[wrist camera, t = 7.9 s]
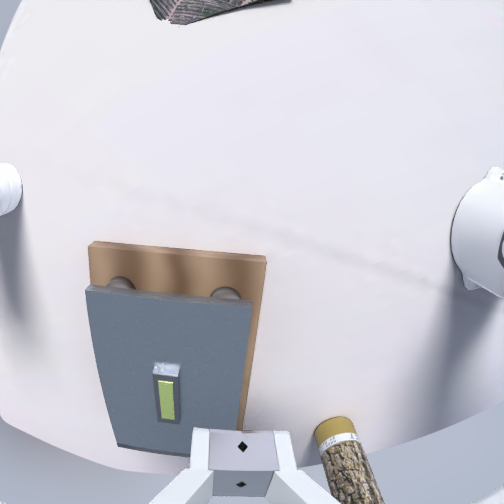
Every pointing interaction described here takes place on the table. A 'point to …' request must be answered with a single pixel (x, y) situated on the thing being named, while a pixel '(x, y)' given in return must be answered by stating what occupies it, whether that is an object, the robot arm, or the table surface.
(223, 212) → the table surface
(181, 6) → the terrain model
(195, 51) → the table surface
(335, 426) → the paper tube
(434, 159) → the table surface
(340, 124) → the table surface
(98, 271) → the leveling base
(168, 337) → the plate
